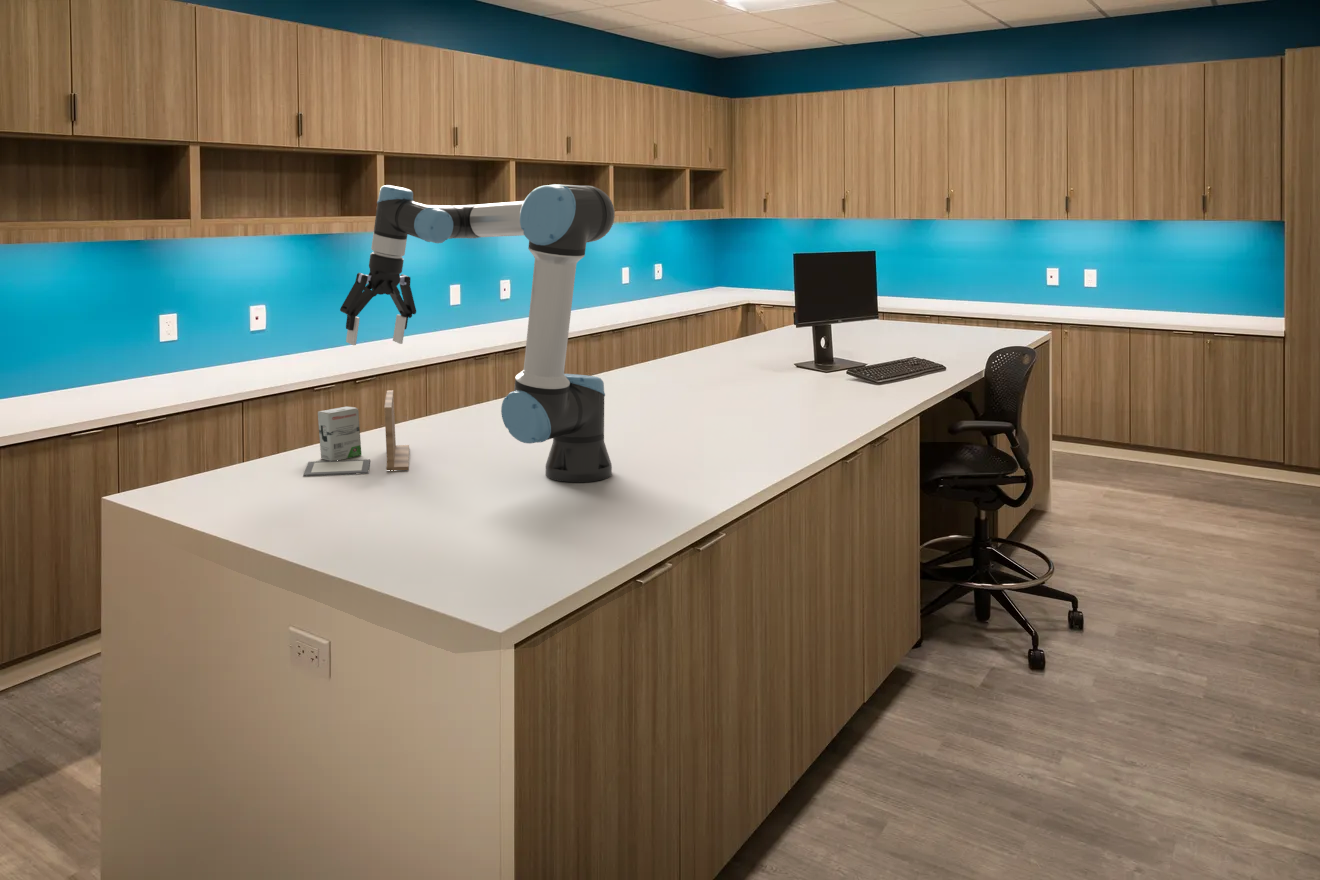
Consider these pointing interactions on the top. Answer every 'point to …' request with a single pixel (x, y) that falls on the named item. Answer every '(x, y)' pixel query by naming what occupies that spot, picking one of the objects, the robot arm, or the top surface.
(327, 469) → the mat
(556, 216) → the robot arm
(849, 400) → the top surface
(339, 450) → the ink box
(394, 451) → the light wood l-shaped piece
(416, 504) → the top surface
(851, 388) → the top surface
